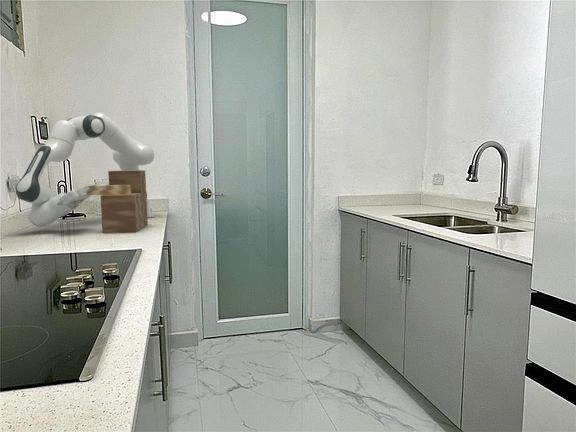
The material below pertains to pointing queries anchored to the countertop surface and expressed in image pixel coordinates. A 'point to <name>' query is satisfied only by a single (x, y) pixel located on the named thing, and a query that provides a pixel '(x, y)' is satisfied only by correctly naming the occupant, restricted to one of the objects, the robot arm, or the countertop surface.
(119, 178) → the step shelf
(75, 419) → the countertop surface
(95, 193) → the tan rectangular block
